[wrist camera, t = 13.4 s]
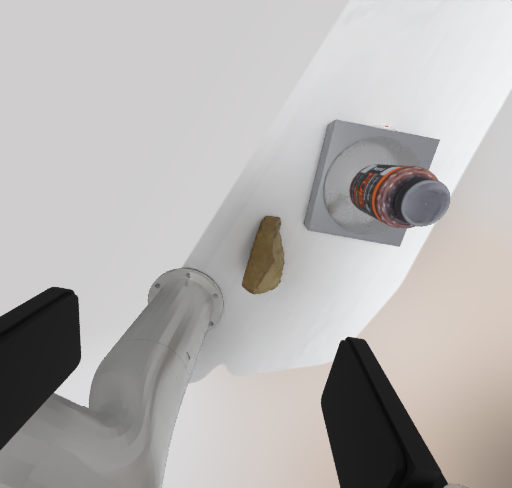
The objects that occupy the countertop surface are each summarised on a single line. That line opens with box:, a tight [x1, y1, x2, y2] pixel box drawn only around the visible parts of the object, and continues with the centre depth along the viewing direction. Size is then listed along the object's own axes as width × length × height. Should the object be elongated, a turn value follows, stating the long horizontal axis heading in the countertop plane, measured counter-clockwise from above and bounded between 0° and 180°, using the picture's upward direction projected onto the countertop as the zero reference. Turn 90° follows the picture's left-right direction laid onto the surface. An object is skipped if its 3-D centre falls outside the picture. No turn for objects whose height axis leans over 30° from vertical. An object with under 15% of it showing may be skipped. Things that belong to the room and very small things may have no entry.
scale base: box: [304, 120, 440, 247], centre depth 34 cm, size 14×13×4 cm
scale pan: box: [324, 137, 421, 234], centre depth 32 cm, size 12×12×1 cm
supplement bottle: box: [350, 164, 450, 228], centre depth 26 cm, size 6×6×11 cm
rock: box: [242, 216, 284, 294], centre depth 37 cm, size 11×9×10 cm
